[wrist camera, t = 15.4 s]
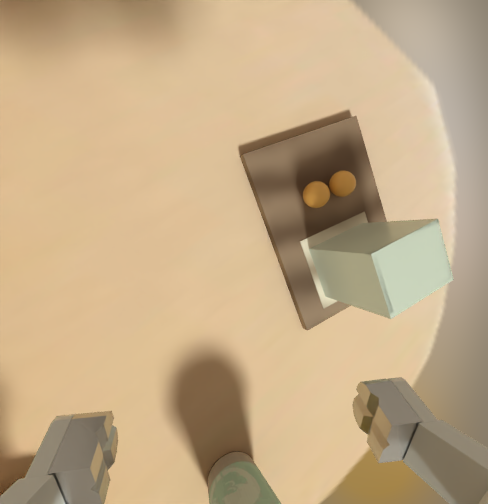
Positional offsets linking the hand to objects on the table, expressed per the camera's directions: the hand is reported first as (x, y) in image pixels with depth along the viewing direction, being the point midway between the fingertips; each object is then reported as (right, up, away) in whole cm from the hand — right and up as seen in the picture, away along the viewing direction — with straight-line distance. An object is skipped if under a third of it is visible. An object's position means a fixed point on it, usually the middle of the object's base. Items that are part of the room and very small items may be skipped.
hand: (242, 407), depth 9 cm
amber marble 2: (+11, +13, +25) cm, 31 cm away
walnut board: (+11, +9, +26) cm, 30 cm away
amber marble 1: (+8, +12, +24) cm, 28 cm away
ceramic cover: (+13, +4, +26) cm, 29 cm away
